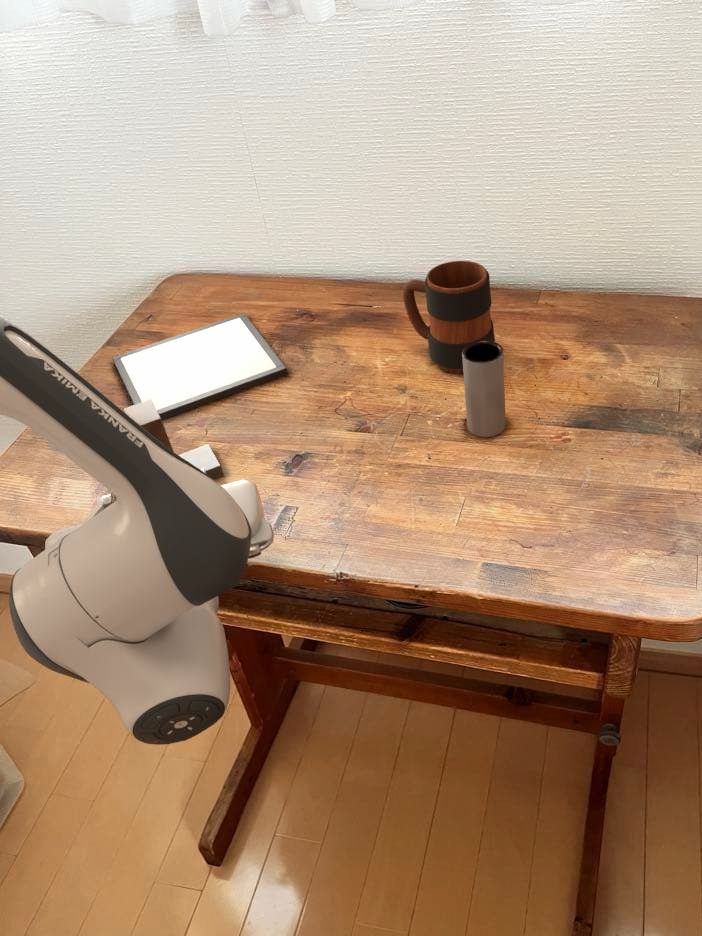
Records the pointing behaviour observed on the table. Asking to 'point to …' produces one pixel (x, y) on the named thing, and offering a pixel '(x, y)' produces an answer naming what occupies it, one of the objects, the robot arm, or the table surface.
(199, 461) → the t-shaped stand
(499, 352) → the planter
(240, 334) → the board
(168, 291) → the table surface
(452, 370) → the mug
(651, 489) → the table surface
